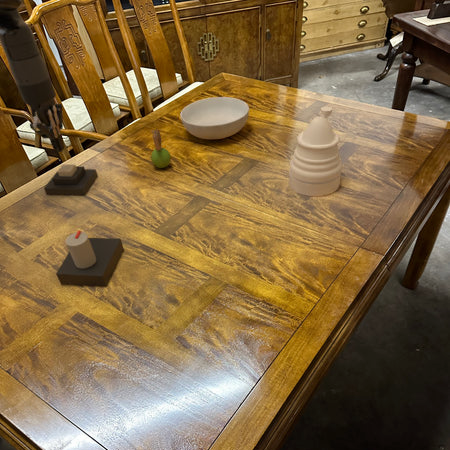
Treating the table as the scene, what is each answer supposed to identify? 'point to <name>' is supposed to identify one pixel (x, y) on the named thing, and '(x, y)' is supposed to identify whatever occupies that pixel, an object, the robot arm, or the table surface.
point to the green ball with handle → (159, 152)
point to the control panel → (97, 273)
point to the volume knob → (81, 250)
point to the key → (67, 170)
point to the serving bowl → (215, 117)
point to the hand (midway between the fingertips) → (59, 150)
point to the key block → (72, 183)
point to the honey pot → (316, 159)
